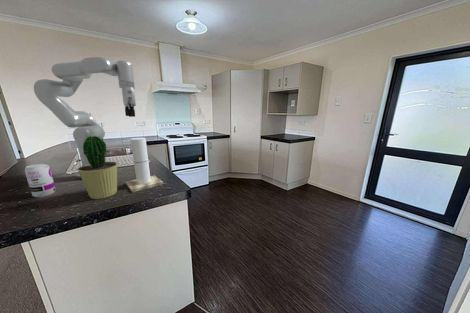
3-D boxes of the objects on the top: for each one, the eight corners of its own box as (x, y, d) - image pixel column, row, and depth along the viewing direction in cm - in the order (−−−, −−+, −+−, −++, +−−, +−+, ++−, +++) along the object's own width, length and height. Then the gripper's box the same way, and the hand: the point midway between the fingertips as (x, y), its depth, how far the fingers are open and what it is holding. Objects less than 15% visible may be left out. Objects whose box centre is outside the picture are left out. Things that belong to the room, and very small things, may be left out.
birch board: (132, 192, 91) (131, 189, 90) (125, 184, 101) (125, 181, 100) (163, 184, 101) (162, 181, 101) (154, 177, 111) (154, 175, 111)
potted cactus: (93, 204, 79) (79, 138, 71) (78, 196, 86) (63, 135, 79) (127, 191, 92) (118, 134, 84) (112, 185, 99) (102, 132, 92)
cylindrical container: (140, 185, 96) (134, 140, 90) (134, 182, 100) (128, 138, 94) (153, 181, 101) (148, 138, 95) (146, 178, 105) (141, 137, 99)
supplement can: (55, 189, 94) (47, 162, 90) (57, 193, 89) (49, 165, 85) (32, 194, 88) (23, 165, 84) (33, 199, 83) (23, 169, 79)
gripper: (137, 84, 95) (140, 117, 100) (131, 87, 108) (134, 115, 112) (121, 83, 91) (125, 116, 95) (116, 86, 103) (120, 115, 108)
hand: (130, 116), depth 104 cm, fingers open, 9 cm apart
